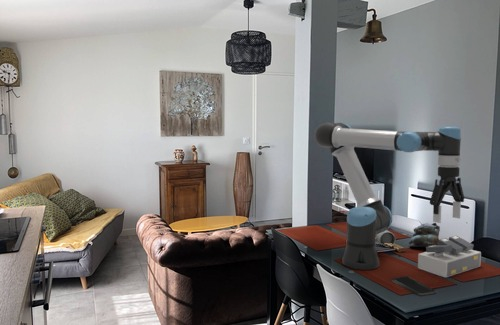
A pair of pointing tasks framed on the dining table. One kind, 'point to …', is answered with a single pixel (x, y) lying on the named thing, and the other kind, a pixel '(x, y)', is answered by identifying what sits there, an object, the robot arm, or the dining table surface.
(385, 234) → the ceramic mug
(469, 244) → the rocker
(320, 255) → the dining table surface
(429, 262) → the switch unit
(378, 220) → the robot arm
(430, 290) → the phone
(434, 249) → the block
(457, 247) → the rocker
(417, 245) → the lucky cat figurine
